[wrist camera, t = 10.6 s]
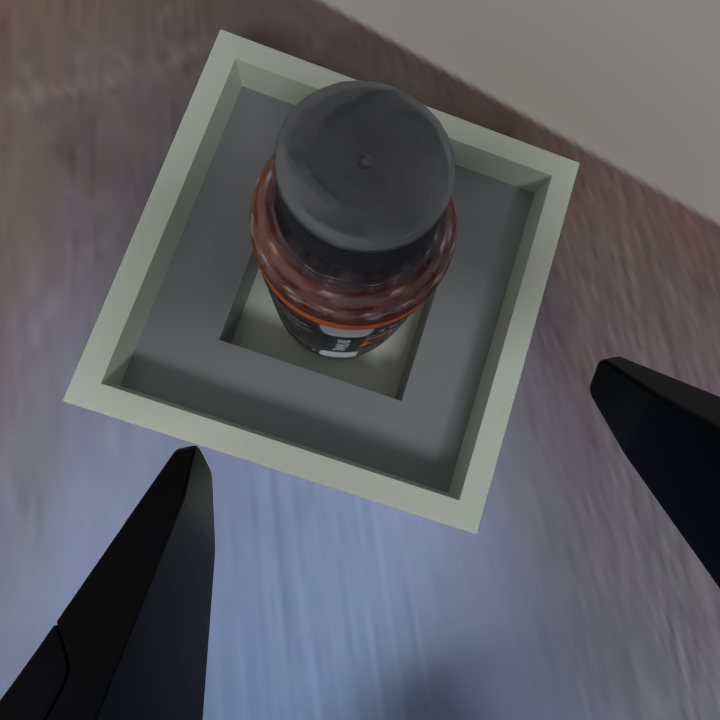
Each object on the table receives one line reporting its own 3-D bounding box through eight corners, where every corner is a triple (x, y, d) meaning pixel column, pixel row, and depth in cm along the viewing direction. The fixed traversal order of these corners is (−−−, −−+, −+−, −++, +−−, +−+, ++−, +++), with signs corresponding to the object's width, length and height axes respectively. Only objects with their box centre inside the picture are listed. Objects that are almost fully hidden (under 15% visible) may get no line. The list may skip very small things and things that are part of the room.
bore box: (529, 211, 23) (579, 163, 18) (443, 506, 21) (476, 534, 16) (241, 106, 22) (220, 29, 17) (121, 402, 20) (62, 400, 15)
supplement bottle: (366, 383, 20) (424, 353, 9) (253, 322, 20) (163, 210, 8) (423, 275, 21) (544, 120, 9) (315, 216, 21) (308, -13, 9)
